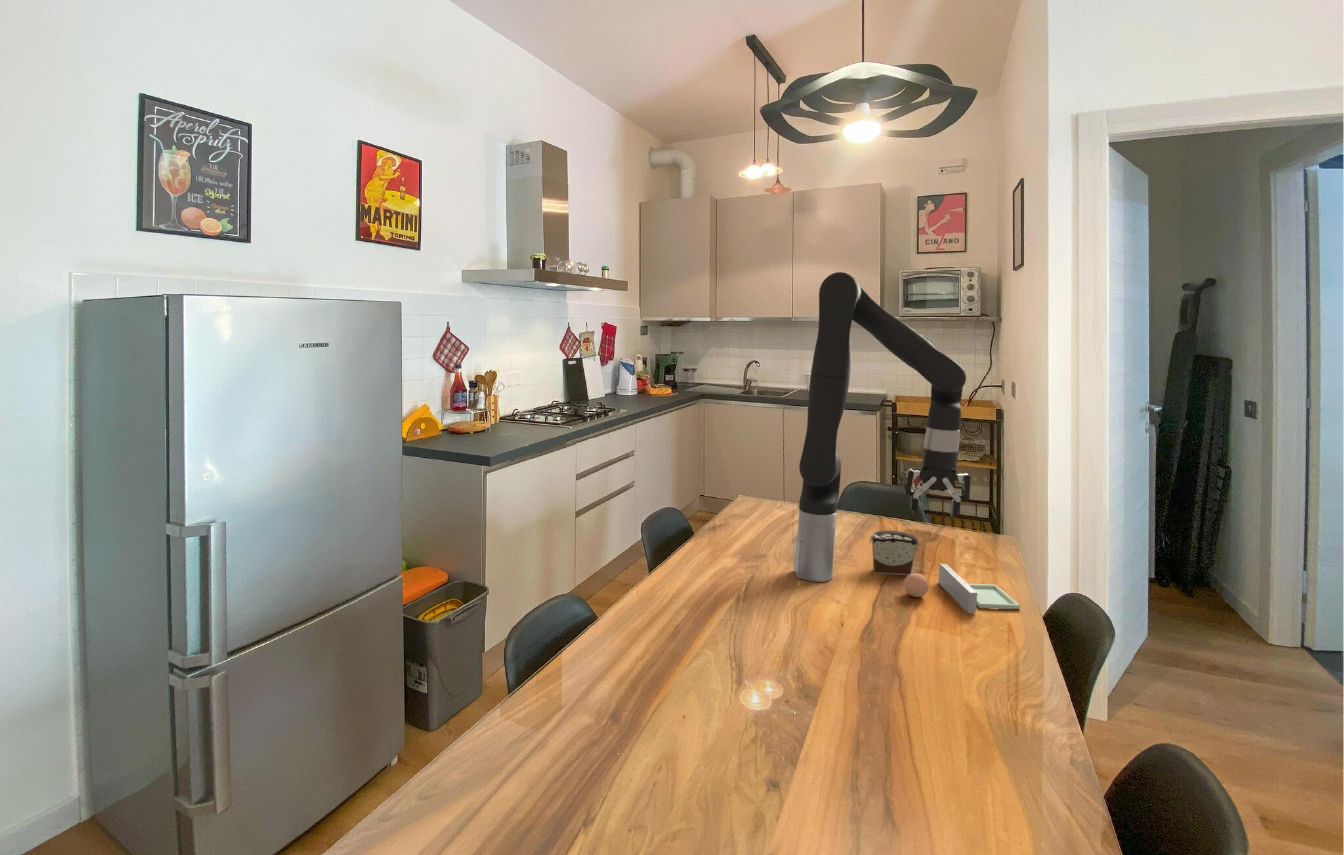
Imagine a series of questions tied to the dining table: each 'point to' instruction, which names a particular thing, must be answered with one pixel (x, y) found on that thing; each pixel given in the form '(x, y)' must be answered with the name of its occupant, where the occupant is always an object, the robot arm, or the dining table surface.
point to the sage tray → (993, 597)
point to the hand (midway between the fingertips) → (933, 514)
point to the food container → (893, 552)
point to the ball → (916, 585)
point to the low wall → (957, 588)
